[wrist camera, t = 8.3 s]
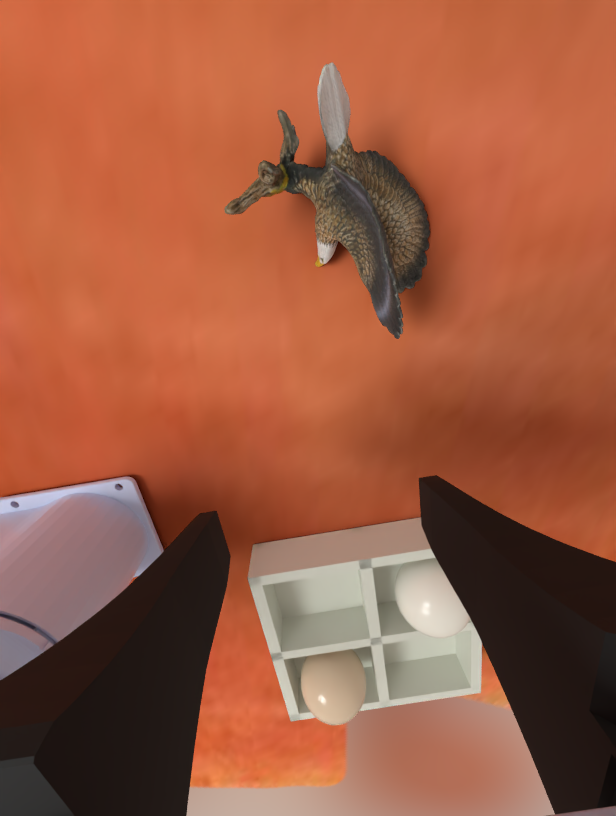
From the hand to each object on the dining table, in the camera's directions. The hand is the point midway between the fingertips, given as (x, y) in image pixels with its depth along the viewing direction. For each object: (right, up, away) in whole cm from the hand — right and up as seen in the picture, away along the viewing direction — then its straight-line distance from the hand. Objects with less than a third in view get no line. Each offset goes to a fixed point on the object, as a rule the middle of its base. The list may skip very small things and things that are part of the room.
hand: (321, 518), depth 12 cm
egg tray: (+4, -12, +15) cm, 20 cm away
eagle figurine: (+2, +13, +6) cm, 15 cm away
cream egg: (+7, -8, +13) cm, 17 cm away
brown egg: (+1, -16, +16) cm, 23 cm away
